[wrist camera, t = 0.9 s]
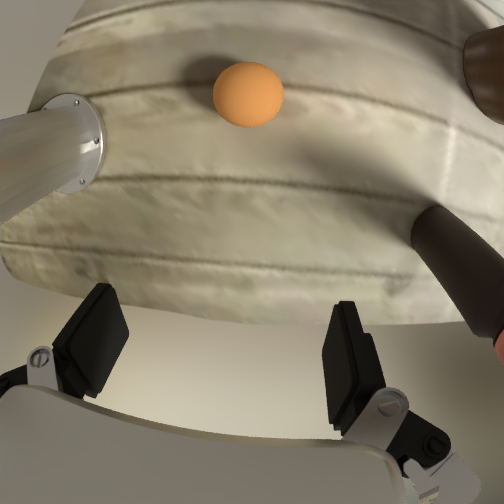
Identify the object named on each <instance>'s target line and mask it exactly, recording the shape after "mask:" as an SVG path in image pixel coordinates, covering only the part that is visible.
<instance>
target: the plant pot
mask: <svg viewBox="0 0 504 504" xmlns="http://www.w3.org/2000/svg"><path fill="white" fill-rule="evenodd" d="M463 68H464V75H465V78H466V82H467V85H468V86H469V87H470V89H471V90H472V93H473V96H474V100H475V102H476V104H477V105H478V107H479V108H480V109H481V111H482V112H483V113H484V114H485V115H486V116H487V117H489V118H490V119H491V120H493V121H495V122H497V123H499V124H502V125H504V25H502V26H499V27H496V28H492V29H489V30H486V31H483V32H479V33H476V34H474V35H472V36H470V37H469V39H468V40H467V42H466V44H465V47H464V52H463Z"/></svg>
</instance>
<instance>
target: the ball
mask: <svg viewBox="0 0 504 504" xmlns="http://www.w3.org/2000/svg"><path fill="white" fill-rule="evenodd" d="M283 97H284V92H283V87H282V83H281V81H280V79H279V78H278V76H277V75H276V74H275V73H274V72H273V71H272V70H271V69H270V68H268V67H267V66H265V65H262V64H260V63H255V62H241V63H237V64H234V65H232V66H230V67H228V68H227V69H225V70H224V71H223V72H222V73H221V74H220V75H219V77H218V78H217V80H216V82H215V84H214V88H213V102H214V105H215V107H216V110H217V111H218V113H219V114H220V115H221V116H222V117H223V118H224V119H225V120H226V121H228V122H230V123H232V124H234V125H237V126H241V127H255V126H259V125H262V124H264V123H266V122H268V121H269V120H271V119H272V118H273V117H274V116H275V115H276V114H277V113H278V111H279V110H280V108H281V105H282V102H283Z"/></svg>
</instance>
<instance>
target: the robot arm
mask: <svg viewBox="0 0 504 504" xmlns="http://www.w3.org/2000/svg"><path fill="white" fill-rule="evenodd" d="M105 152H106V132H105V126H104V123H103V120H102V117H101V115H100V113H99V111H98V109H97V108H96V106H95V105H94V104H93V103H92V102H91V101H90V100H89V99H87V98H86V97H84V96H82V95H79V94H72V93H71V94H63V95H59V96H56V97H55V98H53V99H51V100H50V101H49V102H48V103H47V104H45V106H44V107H43V108H42V109H41V111H36V112H31V113H27V114H22V115H18V116H14V117H10V118H7V119H2V120H0V226H1V225H2V224H3V223H5V222H6V221H8V220H9V219H11V218H12V217H14V216H15V215H17V214H18V213H20V212H21V211H23V210H24V209H26V208H27V207H29V206H30V205H32V204H34V203H35V202H37V201H38V200H40V199H42V198H43V197H45V196H47V195H48V194H50V193H52V192H54V191H56V192H59V193H62V194H72V193H76V192H78V191H81V190H82V189H84V188H86V187H87V186H88V185H90V184H91V183H92V182H93V181H94V179H95V178H96V177H97V175H98V174H99V171H100V169H101V167H102V165H103V161H104V158H105ZM128 337H129V330H128V327H127V324H126V322H125V319H124V316H123V313H122V310H121V307H120V304H119V301H118V298H117V295H116V292H115V289H114V288H112V286H111V284H106V283H98V284H96V286H95V287H94V288H93V289H92V291H91V292H90V293H89V294H88V296H87V297H86V298H85V300H84V301H83V302H82V303H81V305H80V306H79V307H78V309H77V310H76V311H75V313H74V314H73V315H72V317H71V318H70V319H69V321H68V322H67V323H66V325H65V326H64V328H63V329H62V330H61V332H60V333H59V335H58V336H57V337H56V339H55V340H54V342H53V343H52V345H53V349H52V350H51V349H50V348H49V347H47V346H40V347H37V348H35V349H34V350H33V351H31V353H30V354H29V356H28V358H27V364H26V365H23V366H21V367H18V368H16V369H14V370H11V371H8V372H6V373H4V374H2V375H1V376H0V504H407V499H406V492H405V487H404V482H403V478H402V477H405V478H410V479H411V480H412V482H413V483H414V484H415V485H414V486H413V487H414V488H415V489H416V490H417V492H418V494H419V502H418V504H471V503H472V502H473V500H475V498H476V497H477V495H478V494H479V492H480V489H481V481H480V479H479V477H477V475H476V474H475V473H474V472H473V470H472V469H471V468H470V467H469V466H468V465H467V464H466V462H465V461H464V460H463V459H462V458H461V457H460V455H459V454H458V453H457V452H454V453H453V452H452V451H451V450H450V449H451V442H450V438H449V437H448V435H447V434H446V433H445V432H443V431H442V430H440V429H439V428H437V427H436V426H434V425H432V424H431V423H429V422H428V421H426V420H424V419H423V418H421V417H419V416H418V415H416V414H414V413H413V412H411V411H410V410H408V409H409V402H408V399H407V397H406V395H405V394H404V393H403V392H401V391H400V390H399V389H396V388H391V387H386V383H385V379H384V376H383V372H382V368H381V365H380V361H379V358H378V355H377V351H376V348H375V344H374V342H373V338H372V336H371V334H370V333H364V332H363V328H362V325H361V322H360V318H359V315H358V312H357V309H356V306H355V303H354V301H340V302H339V304H335V305H334V308H333V312H332V316H331V320H330V323H329V327H328V331H327V334H326V338H325V342H324V345H323V349H322V360H323V369H324V377H325V386H326V397H327V407H328V418H329V424H333V426H334V430H335V431H336V430H341V436H343V438H342V439H341V440H331V439H281V438H262V437H247V436H237V435H227V434H219V433H212V432H205V431H198V430H192V429H187V428H181V427H176V426H171V425H166V424H162V423H157V422H153V421H149V420H145V419H141V418H137V417H134V416H130V415H127V414H123V413H120V412H116V411H113V410H110V409H107V408H103V407H101V406H98V405H95V404H92V403H89V402H86V401H84V399H83V397H84V395H85V394H86V395H87V396H89V397H92V398H96V397H97V394H98V393H100V392H101V391H102V389H103V387H104V385H105V383H106V381H107V379H108V377H109V375H110V373H111V371H112V369H113V367H114V365H115V363H116V361H117V359H118V357H119V355H120V353H121V351H122V349H123V347H124V345H125V343H126V341H127V339H128Z"/></svg>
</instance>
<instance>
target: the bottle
mask: <svg viewBox="0 0 504 504" xmlns="http://www.w3.org/2000/svg"><path fill="white" fill-rule="evenodd" d="M411 240H412V245H413V247H414V249H415V250H416V252H417V253H418V254H419V256H420V257H421V258H422V260H423V261H424V262H425V263H426V265H427V266H428V267H429V269H430V270H431V271H432V273H433V274H434V275H435V277H436V278H437V280H438V281H439V282H440V284H441V285H442V287H443V288H444V289H445V291H446V292H447V294H448V295H449V297H450V298H451V300H452V301H453V302H454V304H455V305H456V307H457V309H458V310H459V312H460V313H461V315H462V316H463V318H464V319H465V321H466V323H467V324H468V326H469V327H470V329H471V331H472V332H473V334H475V335H477V336H478V337H485V338H492V339H493V346H494V348H495V351H496V353H497V355H498V356H499V358H500V360H501V362H502V364H503V365H504V258H503V257H502V256H501V255H500V254H499V253H498V252H496V251H495V250H494V249H493V248H492V247H491V246H490V245H489V244H488V243H487V242H486V241H485V240H484V239H482V238H481V237H480V236H479V235H478V234H477V233H476V232H474V231H473V230H472V229H471V228H470V227H469V226H467V225H466V224H465V223H464V222H463V221H461V220H460V219H459V218H458V217H456V216H455V215H454V214H453V213H451V212H450V211H449V210H448V209H446V208H443V207H440V206H437V207H431V208H429V209H427V210H425V211H424V212H423V213H422V214H421V215H420V216H419V217H418V218H417V220H416V221H415V223H414V226H413V229H412V234H411Z"/></svg>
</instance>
